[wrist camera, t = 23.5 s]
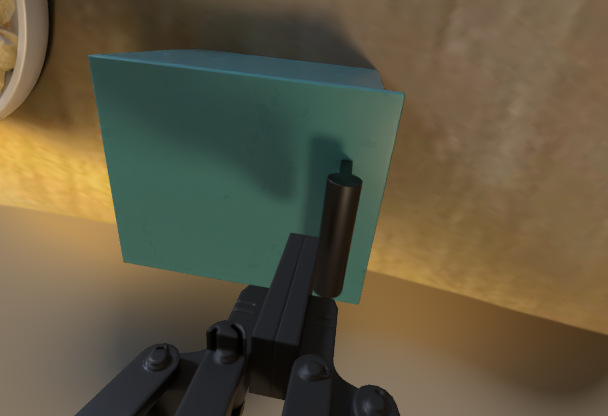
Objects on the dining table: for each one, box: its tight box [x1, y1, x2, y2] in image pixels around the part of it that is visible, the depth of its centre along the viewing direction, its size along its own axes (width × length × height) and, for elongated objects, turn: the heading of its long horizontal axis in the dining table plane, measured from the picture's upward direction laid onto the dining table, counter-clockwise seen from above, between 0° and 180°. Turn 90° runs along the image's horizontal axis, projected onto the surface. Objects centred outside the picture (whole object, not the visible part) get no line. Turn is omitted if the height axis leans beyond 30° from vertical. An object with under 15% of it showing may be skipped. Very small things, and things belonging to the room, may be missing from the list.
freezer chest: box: [98, 48, 385, 90], centre depth 29 cm, size 17×15×14 cm
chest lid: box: [88, 55, 405, 304], centre depth 21 cm, size 18×15×5 cm
